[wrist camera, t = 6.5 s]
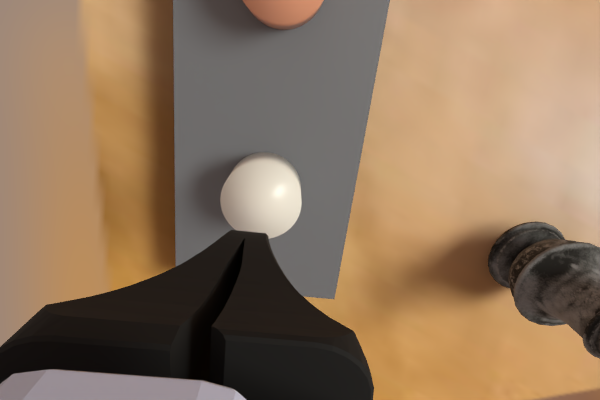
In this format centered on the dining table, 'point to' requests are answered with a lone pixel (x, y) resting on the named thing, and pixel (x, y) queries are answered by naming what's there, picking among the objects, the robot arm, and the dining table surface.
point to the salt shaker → (551, 278)
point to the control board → (274, 121)
